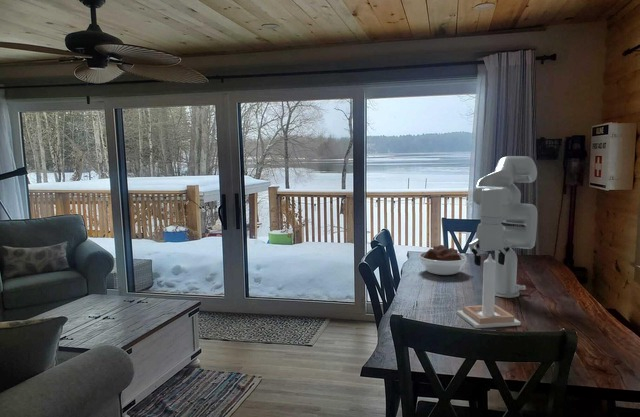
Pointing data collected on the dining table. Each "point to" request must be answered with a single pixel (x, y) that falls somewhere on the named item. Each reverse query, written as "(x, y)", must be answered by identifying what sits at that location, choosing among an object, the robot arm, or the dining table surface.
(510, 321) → the tray
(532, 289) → the dining table surface
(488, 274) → the candle
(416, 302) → the dining table surface
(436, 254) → the white bowl with food
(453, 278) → the dining table surface
